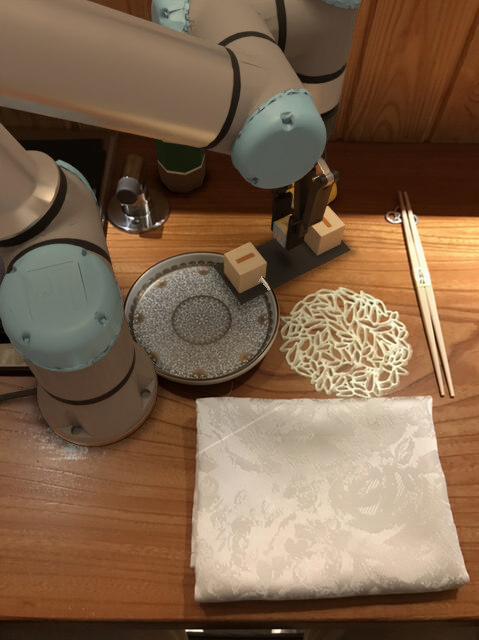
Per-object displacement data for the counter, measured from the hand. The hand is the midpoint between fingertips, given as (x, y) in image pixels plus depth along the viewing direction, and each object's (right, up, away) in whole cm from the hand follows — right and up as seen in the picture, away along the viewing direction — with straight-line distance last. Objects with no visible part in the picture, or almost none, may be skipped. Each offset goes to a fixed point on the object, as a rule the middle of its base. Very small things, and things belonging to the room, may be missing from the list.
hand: (286, 236), depth 82 cm
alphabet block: (0, 0, 0) cm, 1 cm away
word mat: (0, -3, +5) cm, 5 cm away
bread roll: (+4, +8, +12) cm, 15 cm away
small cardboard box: (-6, -6, +2) cm, 9 cm away
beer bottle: (-16, +12, +13) cm, 24 cm away
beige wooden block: (+6, 0, +6) cm, 9 cm away
